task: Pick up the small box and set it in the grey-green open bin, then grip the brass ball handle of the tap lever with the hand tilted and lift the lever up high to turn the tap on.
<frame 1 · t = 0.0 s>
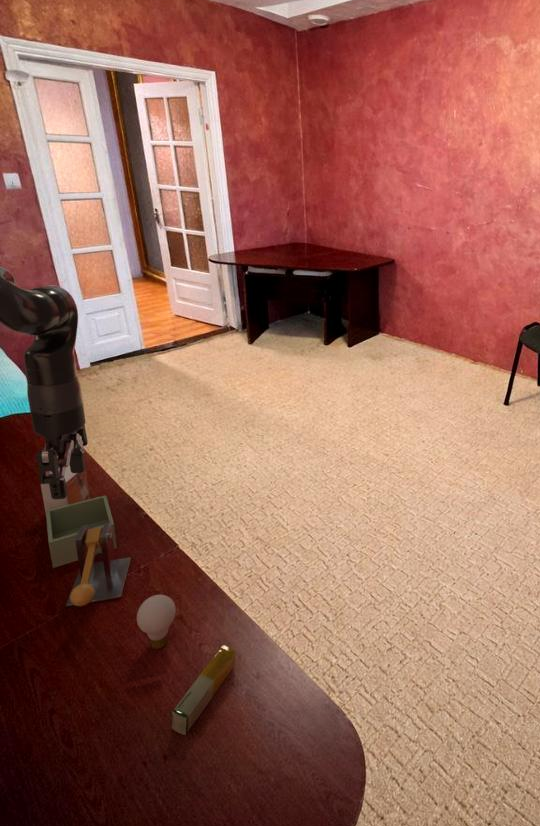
hand: (69, 484, 88), 23 cm above the table, tool pointing down, fingers open, 8 cm apart
tap: (101, 584, 95), on the table
grey-green open bin: (83, 543, 106), on the table
tap lever: (88, 566, 88), point 9 cm above the table, hinge at -20.0°
medication box: (206, 697, 76), on the table
light bulb: (159, 646, 84), on the table
small box: (69, 512, 115), on the table
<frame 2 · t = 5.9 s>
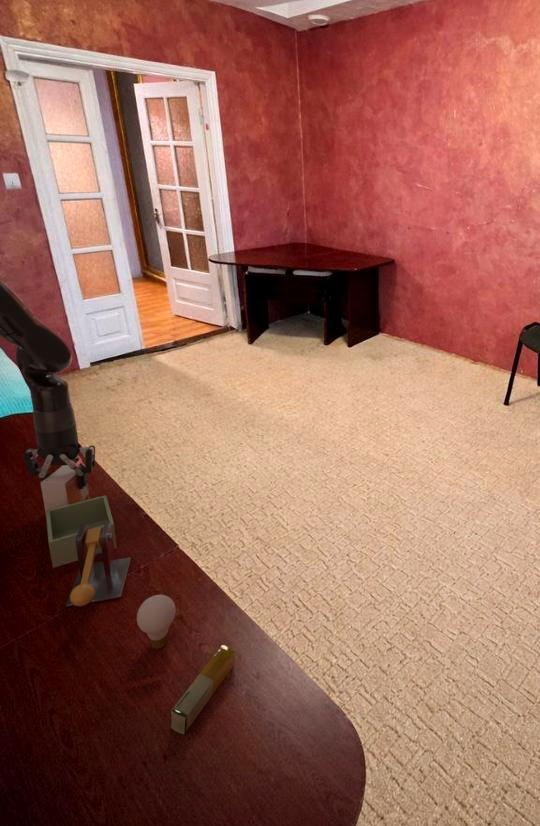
hand: (65, 488, 113), 7 cm above the table, tool pointing down, fingers closed on small box, 6 cm apart
small box: (69, 512, 115), on the table, touching gripper
everything else where it was.
when the fingers open (7 cm above the table, at t = 13.3 s): small box stays where it is, resting on grey-green open bin.
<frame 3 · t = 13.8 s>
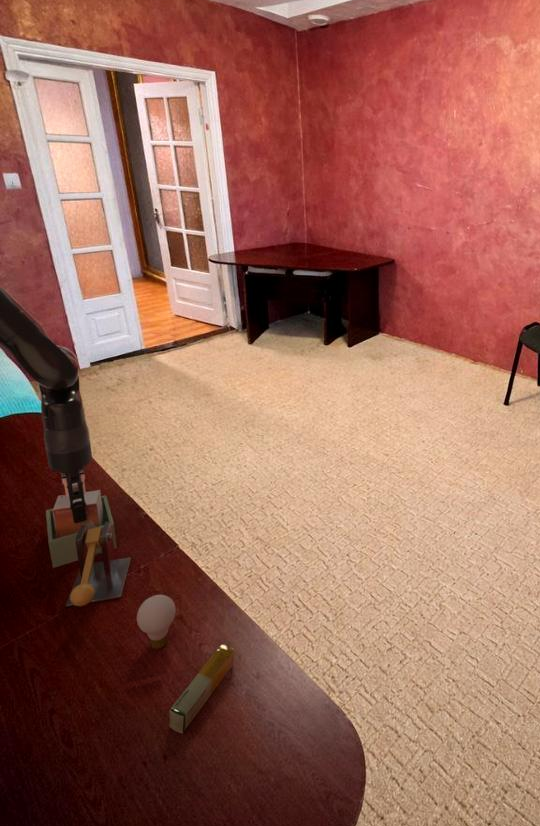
hand: (78, 510, 103), 8 cm above the table, tool pointing down, fingers open, 8 cm apart
small box: (83, 540, 106), point 1 cm above the table, touching grey-green open bin
everything else where it was.
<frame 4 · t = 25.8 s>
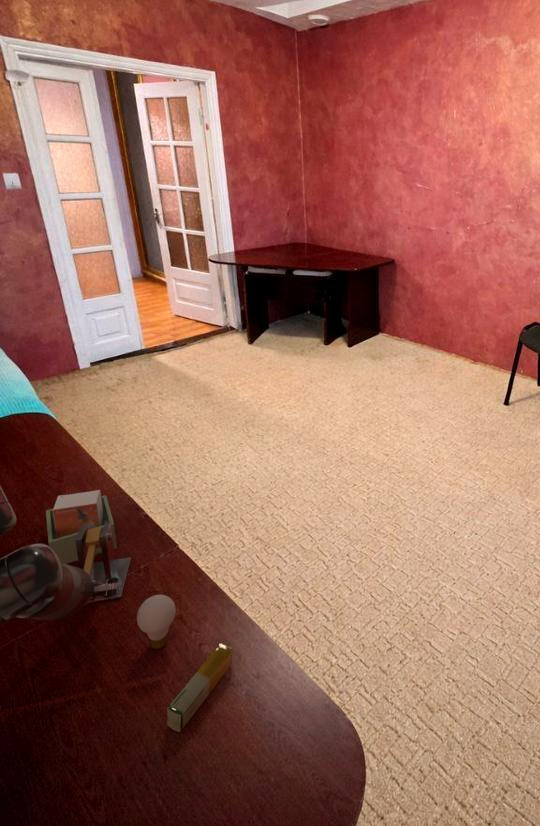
hand: (87, 595, 86), 5 cm above the table, tool tilted 45°, fingers closed on tap lever, 3 cm apart
tap lever: (88, 566, 88), point 9 cm above the table, hinge at -20.0°, touching gripper
everything else where it was.
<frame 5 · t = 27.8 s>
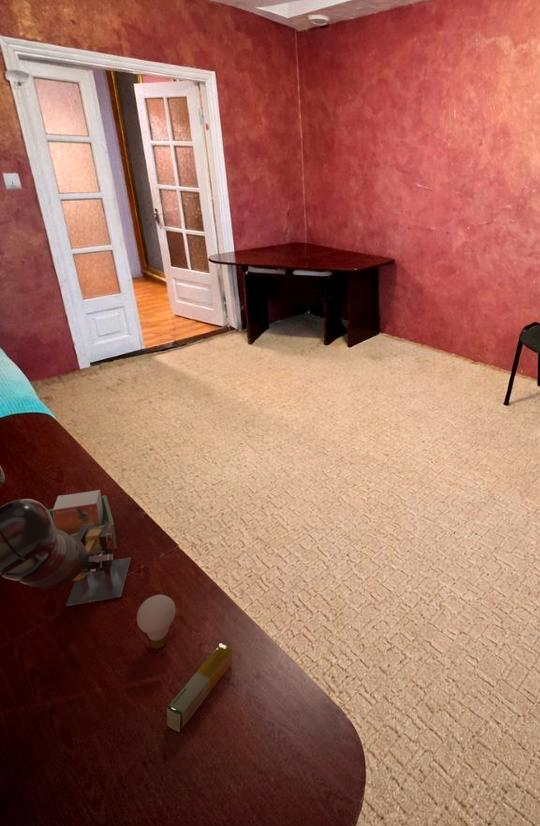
hand: (81, 569, 84), 11 cm above the table, tool tilted 45°, fingers closed on tap lever, 3 cm apart
tap lever: (86, 553, 87), point 12 cm above the table, hinge at 11.3°, touching gripper
everything else where it was.
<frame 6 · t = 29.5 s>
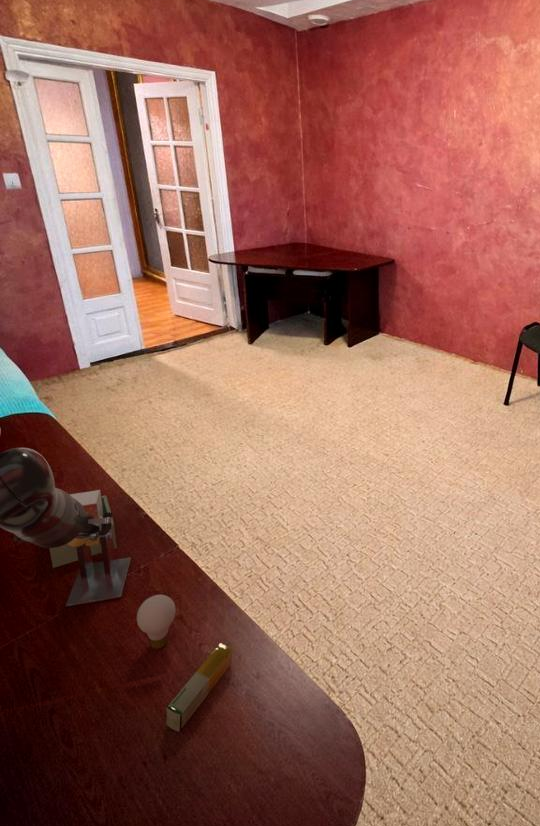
hand: (82, 535, 85), 16 cm above the table, tool tilted 45°, fingers closed on tap lever, 3 cm apart
tap lever: (86, 537, 87), point 15 cm above the table, hinge at 40.0°, touching gripper
everything else where it was.
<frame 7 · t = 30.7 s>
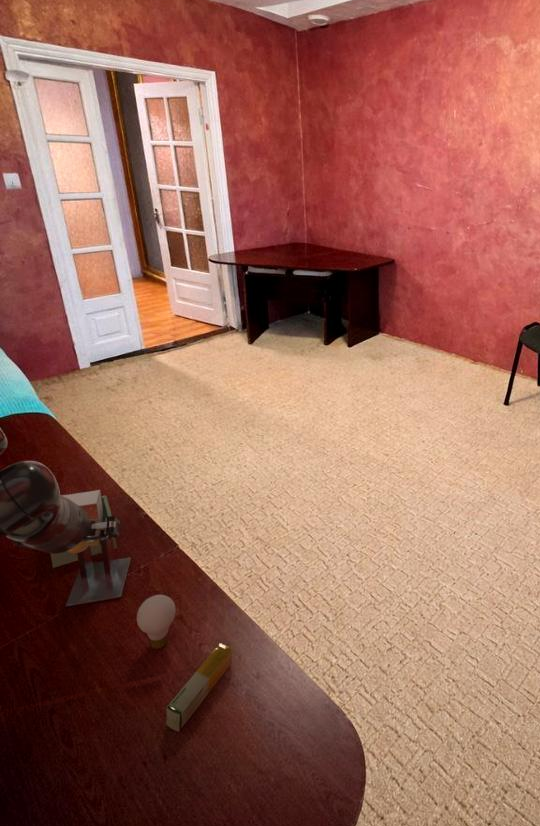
hand: (83, 538, 85), 16 cm above the table, tool tilted 45°, fingers open, 7 cm apart
tap lever: (85, 540, 87), point 14 cm above the table, hinge at 34.8°
everything else where it was.
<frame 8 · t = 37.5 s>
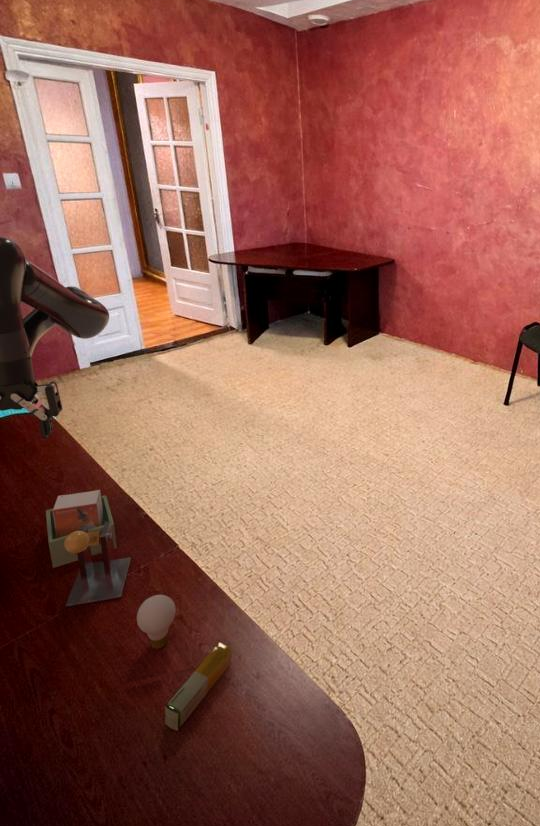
hand: (18, 438, 88), 30 cm above the table, tool pointing down, fingers open, 8 cm apart
at the end: small box inside the target area in the grey-green open bin (0.0 cm from its centre), point 0.6 cm above the grey-green open bin's base; small box tilted 0°; tap lever at +35° (first picture: -20°) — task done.
